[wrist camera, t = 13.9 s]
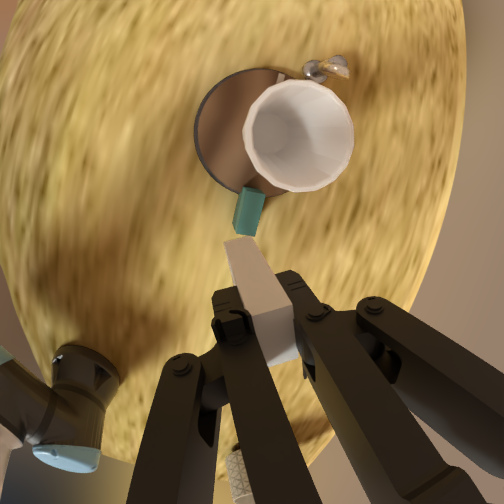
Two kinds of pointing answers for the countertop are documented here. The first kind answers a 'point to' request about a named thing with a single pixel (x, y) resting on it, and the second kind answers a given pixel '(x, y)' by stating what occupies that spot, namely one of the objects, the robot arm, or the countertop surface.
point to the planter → (238, 479)
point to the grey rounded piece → (326, 69)
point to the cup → (299, 135)
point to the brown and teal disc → (237, 143)
